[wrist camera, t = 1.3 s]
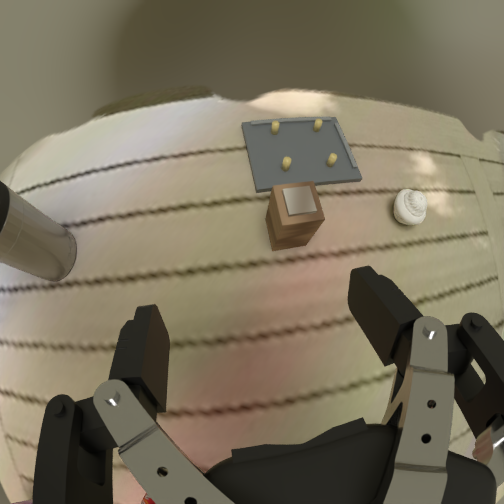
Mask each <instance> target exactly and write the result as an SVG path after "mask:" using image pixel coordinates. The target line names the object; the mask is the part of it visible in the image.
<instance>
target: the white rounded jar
mask: <svg viewBox="0 0 504 504" xmlns="http://www.w3.org/2000/svg"><path fill="white" fill-rule="evenodd" d="M426 208H427V199H426V197H425V196H424V195H423V193H421V192H420V191H419V192H418V191H417V190H416V191H413V190H410V189H404V190H402V191H400V192H399V193H398V195H397V196H396V199H395V202H394V216H395V218H396V220H397V221H398V222H399V223H402V224H407V225H418V224H420V223H421V222H422V221H423V220H424V219H425V216H426Z"/></svg>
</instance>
